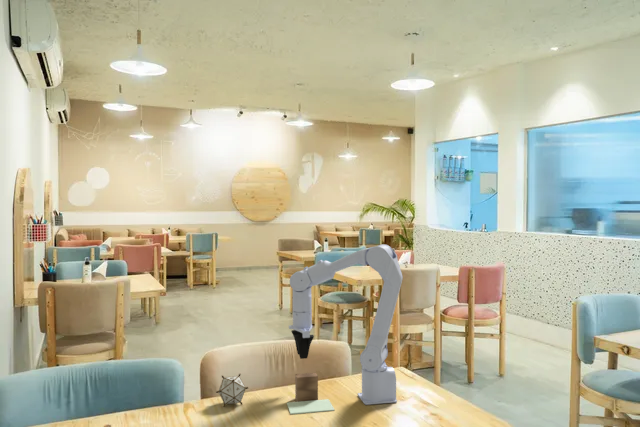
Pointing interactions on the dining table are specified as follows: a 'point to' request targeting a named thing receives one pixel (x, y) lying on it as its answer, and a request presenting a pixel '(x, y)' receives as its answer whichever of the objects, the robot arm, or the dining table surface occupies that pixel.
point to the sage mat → (310, 406)
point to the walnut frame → (306, 387)
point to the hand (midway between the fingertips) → (302, 356)
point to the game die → (232, 390)
